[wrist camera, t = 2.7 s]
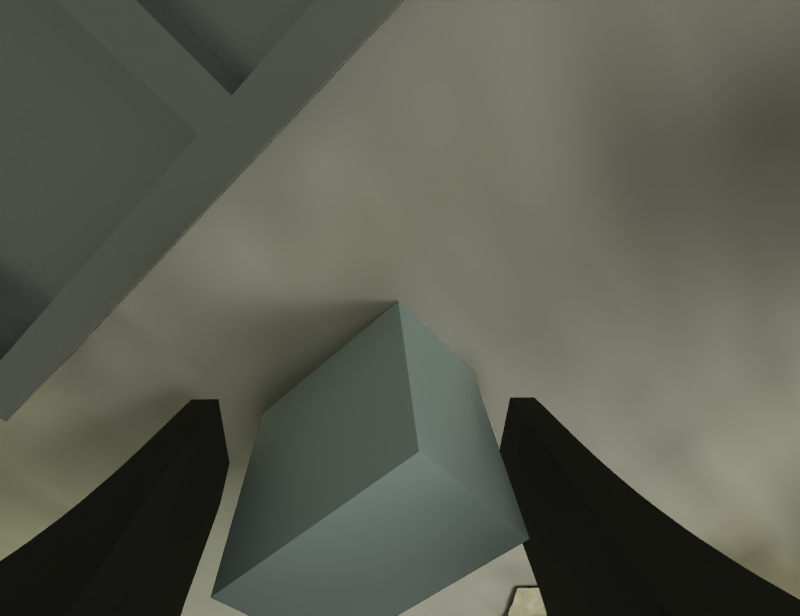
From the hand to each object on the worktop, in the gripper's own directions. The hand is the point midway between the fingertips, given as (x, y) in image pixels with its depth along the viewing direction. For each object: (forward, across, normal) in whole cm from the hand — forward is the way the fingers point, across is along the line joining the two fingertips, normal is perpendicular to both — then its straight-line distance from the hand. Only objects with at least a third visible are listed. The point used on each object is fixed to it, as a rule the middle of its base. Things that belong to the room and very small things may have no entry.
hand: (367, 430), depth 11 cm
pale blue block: (+2, 0, 0) cm, 2 cm away
